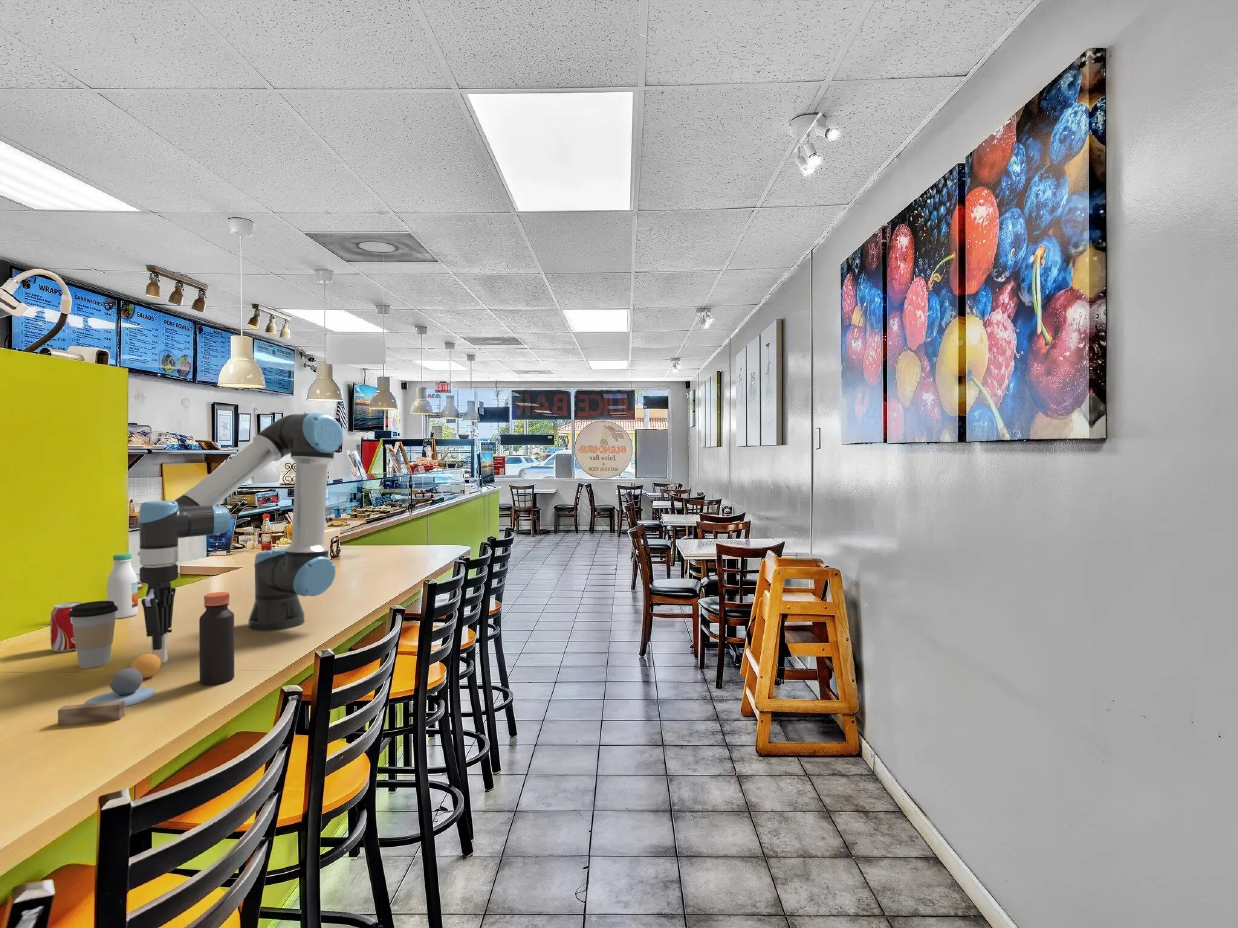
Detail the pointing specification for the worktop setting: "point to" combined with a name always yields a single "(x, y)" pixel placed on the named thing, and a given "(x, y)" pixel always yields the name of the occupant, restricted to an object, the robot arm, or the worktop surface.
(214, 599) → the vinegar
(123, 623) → the worktop surface
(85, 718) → the brown wooden block
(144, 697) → the mark
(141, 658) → the ball
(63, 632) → the soda can
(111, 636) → the coffee cup
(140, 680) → the ball
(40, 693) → the worktop surface
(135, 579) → the milk bottle
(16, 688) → the worktop surface
